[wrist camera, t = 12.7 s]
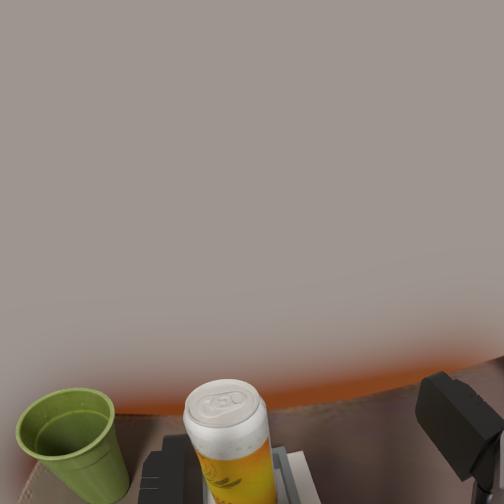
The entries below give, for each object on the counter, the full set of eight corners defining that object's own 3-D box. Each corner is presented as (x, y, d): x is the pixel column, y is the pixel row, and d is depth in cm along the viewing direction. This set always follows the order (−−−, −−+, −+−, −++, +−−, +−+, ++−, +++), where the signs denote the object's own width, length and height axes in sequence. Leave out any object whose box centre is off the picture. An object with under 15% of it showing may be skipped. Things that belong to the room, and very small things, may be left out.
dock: (302, 456, 32) (302, 434, 30) (330, 537, 20) (334, 521, 19) (183, 472, 30) (173, 451, 29) (181, 557, 19) (168, 542, 18)
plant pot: (159, 457, 33) (130, 391, 30) (132, 531, 21) (84, 472, 18) (83, 444, 34) (49, 381, 31) (47, 504, 22) (-3, 441, 19)
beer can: (211, 489, 27) (174, 387, 23) (265, 473, 28) (248, 368, 25) (227, 532, 21) (187, 439, 17) (288, 513, 23) (278, 413, 19)
